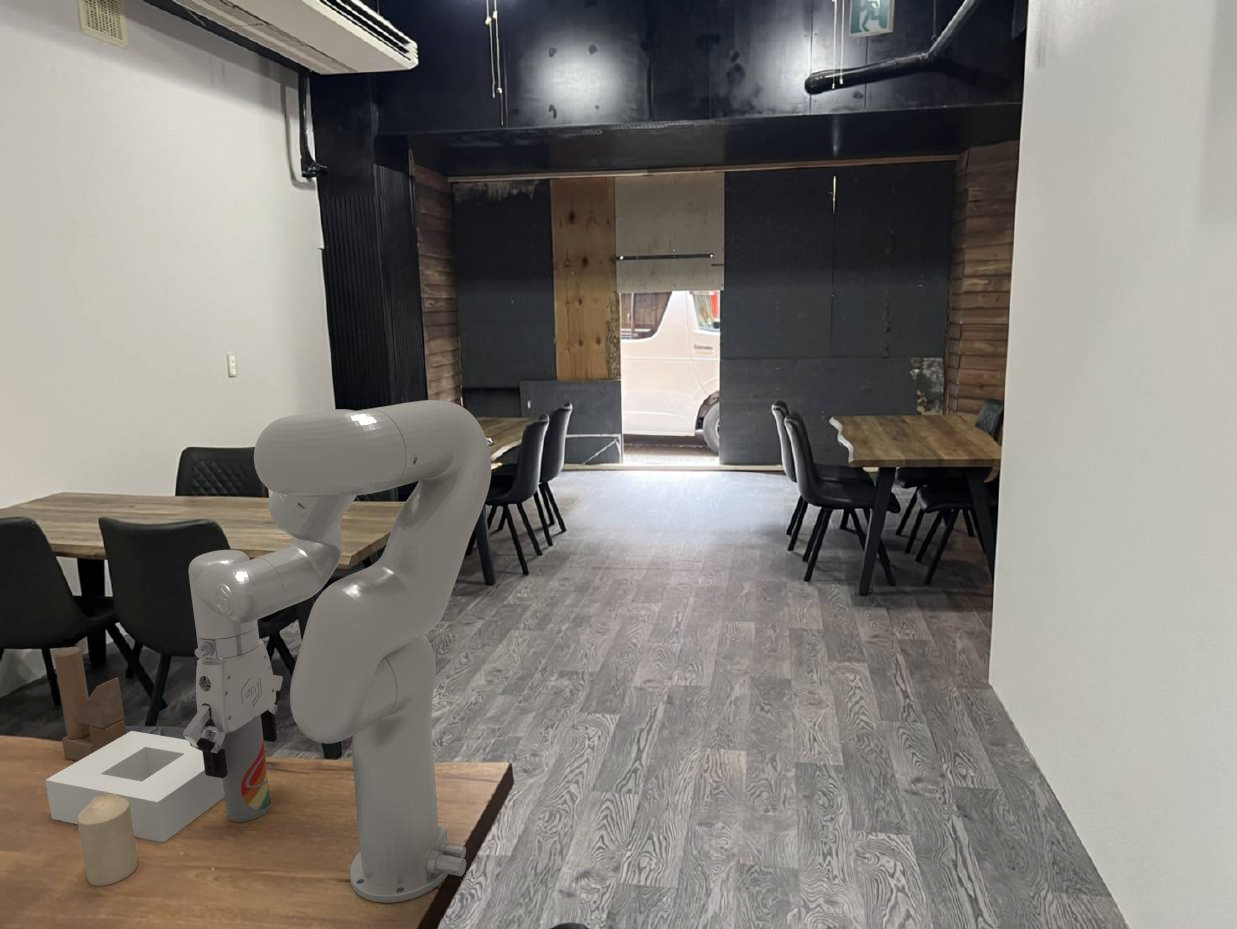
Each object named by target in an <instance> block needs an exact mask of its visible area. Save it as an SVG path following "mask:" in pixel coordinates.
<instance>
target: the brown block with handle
mask: <svg viewBox="0 0 1237 929" xmlns="http://www.w3.org/2000/svg"><path fill="white" fill-rule="evenodd" d="M82 652H83V651H82V649H81V648H80V647H79V646H70V647H63V648H62V649H58V650H57V651H55V652H54V655H53V657H54V665H55V670H56V676H57V682H58V688H59V695H60V702H61V708H62V714H63V720H64V726H65V733H66V735H65V736H64V737H62V739H61V741H62V746H63V753H64V757H65V759H69V760H71V761H76V762H78V761H80V760H81V759H83V758H85V757H87V756H88V755H90V754H92V753H94V752H95V751H97V750H99V749H101V748H102V747H104V746H106V745H108V744H109V743H111V742H113V741H115V740H116V739H118V738H120V737H122V736H123V735H125V734H127V729H126V721H125V711H124V706H123V700H122V699H123V698H122V692H121V687H120V680H119V679H120V678H119V677H115V678H113V679H111V680H108V681H106V682H102V683H101V684H99V685H97V686H95V688H94V690H93V691H92V692H91V694H90V696H89V692H88V685H87V684H88V683H87V678H86V673H85V672H86V671H85V666H84V659H83V653H82Z"/></svg>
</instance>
